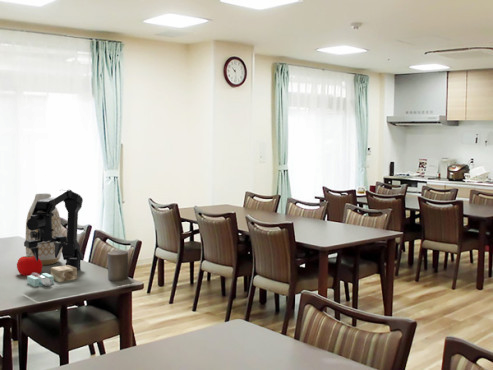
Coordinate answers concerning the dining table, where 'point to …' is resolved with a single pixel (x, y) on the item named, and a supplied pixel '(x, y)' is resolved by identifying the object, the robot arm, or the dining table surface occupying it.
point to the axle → (43, 279)
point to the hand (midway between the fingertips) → (46, 259)
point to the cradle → (35, 281)
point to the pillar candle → (117, 265)
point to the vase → (48, 249)
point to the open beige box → (64, 273)
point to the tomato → (29, 265)
